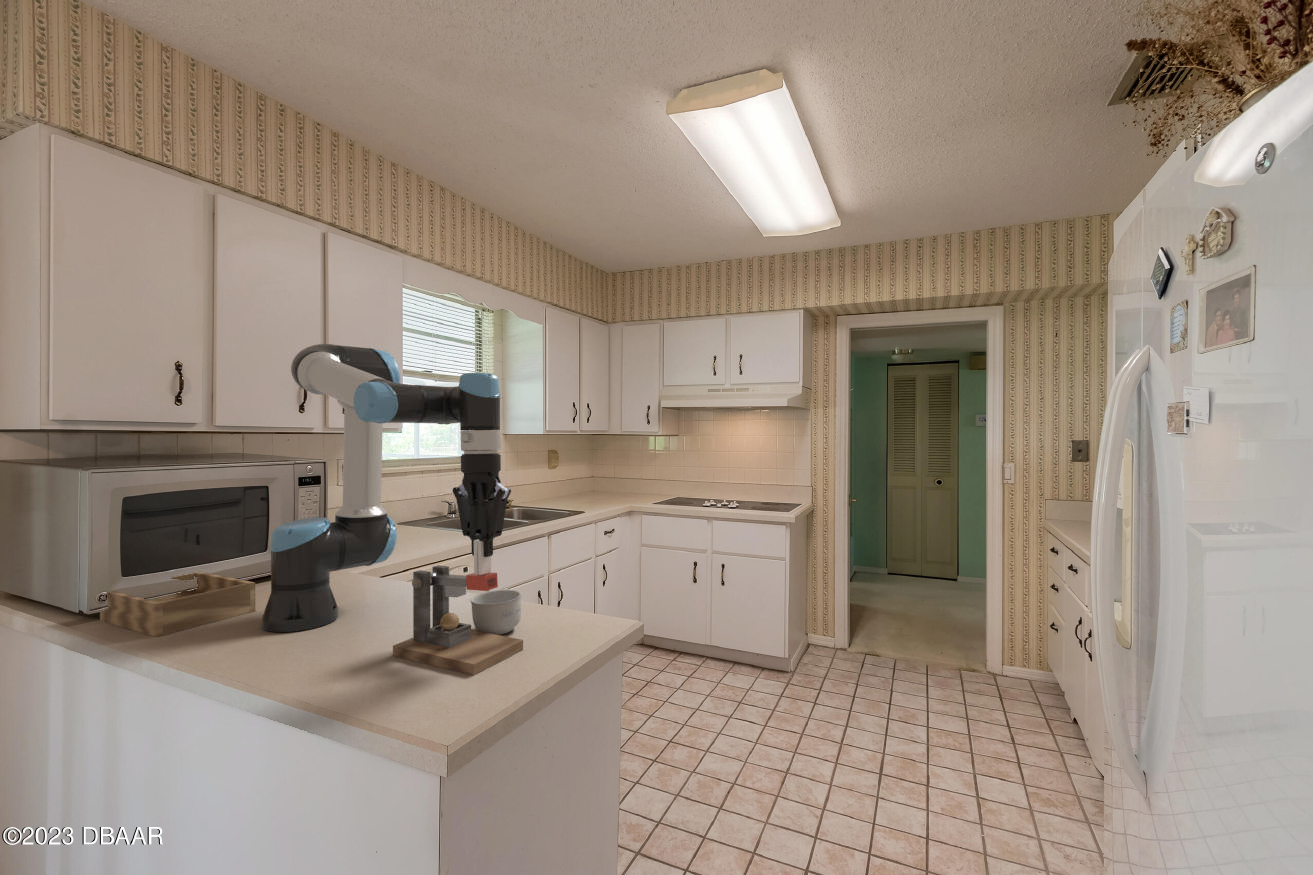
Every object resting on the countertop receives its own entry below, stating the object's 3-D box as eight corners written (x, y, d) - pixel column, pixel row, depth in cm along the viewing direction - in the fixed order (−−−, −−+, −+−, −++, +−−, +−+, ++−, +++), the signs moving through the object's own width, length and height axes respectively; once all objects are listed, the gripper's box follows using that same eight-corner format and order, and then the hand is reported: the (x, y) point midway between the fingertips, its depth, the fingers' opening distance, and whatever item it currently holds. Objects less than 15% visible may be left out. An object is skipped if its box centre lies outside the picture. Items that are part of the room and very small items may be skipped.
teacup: (508, 641, 126) (508, 603, 126) (461, 637, 128) (461, 600, 128) (534, 620, 139) (534, 586, 139) (491, 617, 142) (491, 583, 142)
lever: (421, 595, 121) (420, 572, 121) (433, 591, 124) (432, 569, 124) (486, 600, 114) (485, 576, 114) (498, 596, 117) (497, 572, 117)
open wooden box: (100, 620, 138) (99, 590, 138) (199, 598, 156) (199, 571, 156) (156, 636, 127) (155, 604, 127) (255, 610, 145) (255, 582, 145)
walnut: (436, 632, 119) (436, 614, 119) (449, 626, 123) (449, 609, 123) (449, 634, 118) (449, 616, 118) (462, 629, 121) (462, 611, 121)
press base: (392, 655, 117) (392, 574, 117) (446, 633, 130) (446, 560, 130) (474, 675, 108) (474, 587, 108) (523, 649, 121) (523, 571, 121)
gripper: (440, 453, 116) (442, 573, 116) (494, 453, 110) (496, 580, 110) (468, 451, 122) (470, 566, 122) (520, 451, 117) (522, 571, 117)
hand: (482, 572), depth 116 cm, fingers closed, pressing on lever
